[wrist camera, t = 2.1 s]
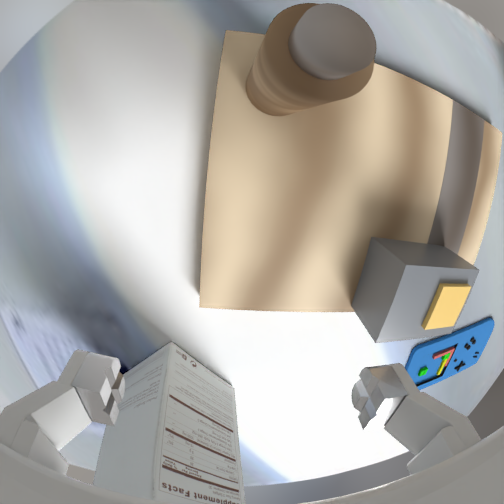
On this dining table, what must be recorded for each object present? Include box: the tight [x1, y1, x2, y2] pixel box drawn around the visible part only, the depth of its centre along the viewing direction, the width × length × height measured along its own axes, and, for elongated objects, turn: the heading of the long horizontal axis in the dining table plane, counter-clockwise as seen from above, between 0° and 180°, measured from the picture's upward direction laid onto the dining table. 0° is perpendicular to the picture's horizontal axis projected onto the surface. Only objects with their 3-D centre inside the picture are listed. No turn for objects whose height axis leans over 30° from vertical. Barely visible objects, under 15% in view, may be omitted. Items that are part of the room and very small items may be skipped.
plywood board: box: [199, 30, 502, 312], centre depth 16 cm, size 22×16×1 cm
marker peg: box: [246, 3, 376, 116], centre depth 9 cm, size 3×3×8 cm
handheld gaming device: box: [405, 318, 494, 390], centre depth 25 cm, size 8×1×15 cm
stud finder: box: [351, 237, 479, 343], centre depth 16 cm, size 7×5×4 cm
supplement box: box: [93, 342, 245, 504], centre depth 15 cm, size 7×7×13 cm
